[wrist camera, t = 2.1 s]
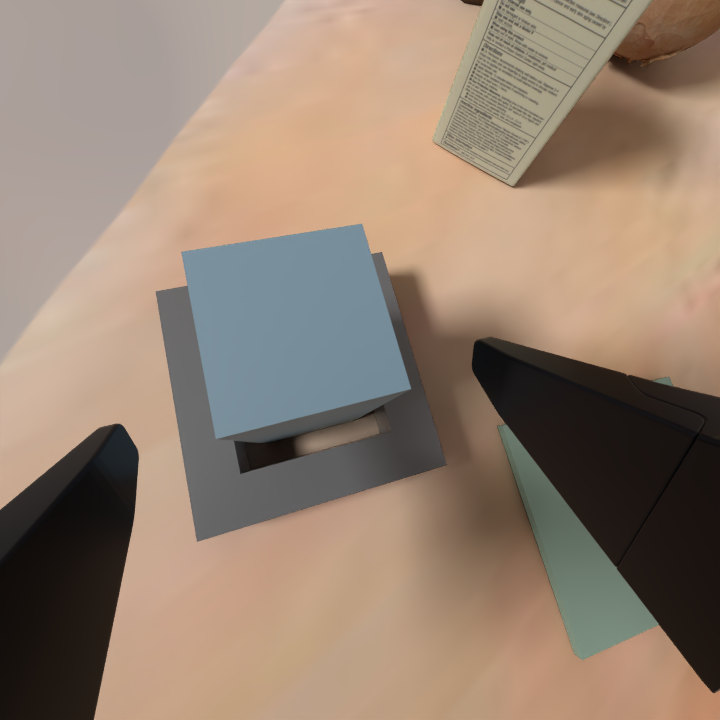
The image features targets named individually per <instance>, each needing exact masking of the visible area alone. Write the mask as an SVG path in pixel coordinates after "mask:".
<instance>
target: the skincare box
mask: <svg viewBox="0 0 720 720" xmlns="http://www.w3.org/2000/svg"><path fill="white" fill-rule="evenodd" d="M652 1H653V0H484V2H483V4H482V7H481V10H480V12H479V15H478V18H477V20H476V23H475V25H474V28H473V31H472V33H471V36H470V39H469V42H468V44H467V47H466V50H465V53H464V55H463V58H462V61H461V63H460V66H459V69H458V71H457V74H456V77H455V79H454V82H453V85H452V87H451V90H450V92H449V95H448V98H447V100H446V103H445V106H444V109H443V112H442V115H441V117H440V120H439V122H438V125H437V128H436V131H435V133H434V136H433V142H434V143H436V144H437V145H439V146H441V147H442V148H444V149H446V150H447V151H449V152H451V153H453V154H454V155H456V156H458V157H460V158H462V159H463V160H465V161H467V162H469V163H470V164H472V165H474V166H476V167H477V168H479V169H481V170H483V171H485V172H486V173H488V174H490V175H492V176H494V177H495V178H497V179H499V180H501V181H503V182H505V183H507V184H509V185H511V186H514V185H515V184H516V183H517V182H518V180H519V179H520V178H521V176H522V175H523V174H524V172H525V171H526V170H527V168H528V167H529V166H530V164H531V163H532V162H533V160H534V159H535V158H536V156H537V155H538V154H539V152H540V151H541V150H542V148H543V147H544V146H545V144H546V143H547V142H548V140H549V139H550V138H551V136H552V135H553V134H554V132H555V131H556V130H557V128H558V127H559V126H560V124H561V123H562V122H563V120H564V119H565V118H566V116H567V115H568V114H569V112H570V111H571V110H572V108H573V107H574V106H575V104H576V103H577V102H578V100H579V99H580V98H581V96H582V95H583V94H584V92H585V91H586V90H587V88H588V87H589V86H590V84H591V83H592V82H593V80H594V79H595V78H596V76H597V75H598V74H599V72H600V71H601V70H602V68H603V67H604V66H605V64H606V63H607V62H608V60H609V59H610V58H611V56H612V55H613V54H614V52H615V51H616V50H617V48H618V47H619V46H620V44H621V43H622V42H623V40H624V39H625V37H626V36H627V35H628V33H629V32H630V31H631V29H632V28H633V27H634V25H635V24H636V23H637V21H638V20H639V19H640V17H641V16H642V15H643V13H644V12H645V11H646V9H647V8H648V7H649V5H650V4H651V3H652Z"/></svg>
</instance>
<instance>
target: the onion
mask: <svg viewBox="0 0 720 720" xmlns="http://www.w3.org/2000/svg"><path fill="white" fill-rule="evenodd" d="M719 28H720V0H653V1H652V3H651V4H650V5H649V7H648V8H647V9H646V11H645V12H644V13H643V15H642V16H641V17H640V19H639V20H638V21H637V23H636V24H635V25H634V27H633V28H632V29H631V31H630V32H629V33H628V35H627V36H626V37H625V39H624V40H623V42H622V43H621V44H620V46H619V47H618V48H617V50H616V51H615V52H614V55H616V56H618V57H620V58H622V59H623V56H624V57H625V58H627V62H628V64H629V63H631V62H632V60H633V61H636V60H640V61H642V62H643V63H641V67H642V66H643V65H646V67H647V66H648V65H649V64H650V62H653V61H659V60H665V59H668V58H671V57H673V56H675V55H677V54H678V53H679V52H681V51H684V50H686V49H688V48H690V47H692V46H694V45H695V44H697V43H699V42H700V41H702V40H704V39H706V38H707V37H709V36H710V35H712V34H713V33H714V32H716V31H717V30H718V29H719Z"/></svg>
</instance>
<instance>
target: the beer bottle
mask: <svg viewBox="0 0 720 720" xmlns="http://www.w3.org/2000/svg"><path fill="white" fill-rule="evenodd" d="M462 1H463V2H464V3H470V4H477V5H482V4H483V2H484V0H462Z"/></svg>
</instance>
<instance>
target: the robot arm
mask: <svg viewBox="0 0 720 720" xmlns="http://www.w3.org/2000/svg"><path fill="white" fill-rule="evenodd" d="M472 370H473V372H474V374H475V376H476V378H477V379H478V381H479V383H480V384H481V386H482V388H483V389H484V391H485V393H486V394H487V396H488V398H489V399H490V401H491V403H492V404H493V406H494V407H495V409H496V411H497V412H498V414H499V415H500V417H501V418H502V419H503V421H504V422H505V423H506V425H507V426H508V427H509V429H510V430H511V431H512V433H513V434H514V435H515V436H516V438H517V439H518V440H519V442H520V443H521V444H522V446H523V447H524V448H525V450H526V451H527V452H528V453H529V455H530V456H531V457H532V459H533V460H534V461H535V463H536V464H537V465H538V467H539V468H540V469H541V470H542V472H543V473H544V474H545V476H546V477H547V478H548V480H549V481H550V482H551V484H552V485H553V486H554V487H555V489H556V490H557V491H558V493H559V494H560V495H561V497H562V498H563V499H564V501H565V502H566V503H567V504H568V506H569V507H570V508H571V510H572V511H573V512H574V514H575V515H576V516H577V518H578V519H579V520H580V521H581V523H582V524H583V525H584V527H585V528H586V529H587V531H588V532H589V533H590V535H591V536H592V537H593V538H594V540H595V541H596V542H597V544H598V545H599V546H600V548H601V549H602V550H603V552H604V553H605V554H606V555H607V557H608V558H609V559H610V561H611V562H612V563H613V565H614V566H615V567H617V570H618V572H619V573H620V574H621V575H622V577H623V578H624V579H625V581H626V582H627V583H628V585H629V586H630V587H631V589H632V590H633V591H634V592H635V594H636V595H637V596H638V598H639V599H640V600H641V602H642V603H643V604H644V606H645V607H646V608H647V609H648V611H649V612H650V613H651V615H652V616H653V617H654V619H655V620H656V621H657V623H658V624H659V625H660V626H661V628H662V629H663V630H664V632H665V633H666V634H667V636H668V637H669V638H670V640H671V641H672V642H673V643H674V645H675V646H676V647H677V649H678V650H679V651H680V653H681V654H682V655H683V657H684V658H685V659H686V660H687V662H688V663H689V664H690V666H691V667H692V668H693V670H694V671H695V672H696V674H697V675H698V676H699V677H700V679H701V680H702V681H703V682H704V684H705V685H706V686H707V687H708V688H709V689H710V690H711V692H713V693H716V692H718V691H720V397H716V396H712V395H707V394H703V393H699V392H694V391H690V390H686V389H682V388H678V387H673V386H669V385H666V384H662V383H658V382H654V381H650V380H646V379H643V378H639V377H636V376H632V375H628V376H627V375H626V374H624V373H621V372H617V371H613V370H610V369H606V368H603V367H599V366H595V365H592V364H588V363H584V362H581V361H577V360H573V359H570V358H566V357H562V356H559V355H555V354H552V353H548V352H544V351H541V350H537V349H533V348H530V347H526V346H522V345H519V344H515V343H511V342H508V341H504V340H501V339H497V338H493V337H486V338H482V339H478V340H476V341H475V343H474V349H473V358H472ZM138 461H139V454H138V450H137V448H136V446H135V444H134V443H133V441H132V439H131V438H130V436H129V434H128V433H127V431H126V429H125V428H124V427H123V426H122V425H121V424H112V425H108V426H104V427H100V428H98V429H97V430H96V431H95V432H93V433H92V434H91V435H90V436H88V437H87V438H86V439H85V440H84V441H82V442H81V443H80V444H79V445H78V446H76V447H75V448H74V449H73V450H72V451H70V452H69V453H68V454H67V455H66V456H64V457H63V458H62V459H61V460H60V461H58V462H57V463H56V464H55V465H54V466H52V467H51V468H50V469H49V470H48V471H46V472H45V473H44V474H43V475H42V476H40V477H39V478H38V479H37V480H36V481H34V482H33V483H32V484H31V485H30V486H28V487H27V488H26V489H25V490H24V491H22V492H21V493H20V494H19V495H18V496H16V497H15V498H14V499H13V500H12V501H10V502H9V503H8V504H7V505H6V506H4V507H3V508H2V509H1V510H0V720H94V716H95V711H96V706H97V701H98V696H99V691H100V686H101V681H102V676H103V671H104V666H105V662H106V657H107V652H108V647H109V642H110V637H111V632H112V627H113V622H114V617H115V612H116V607H117V602H118V597H119V592H120V587H121V582H122V577H123V572H124V567H125V562H126V557H127V552H128V547H129V542H130V537H131V532H132V527H133V521H134V514H135V503H136V489H137V475H138Z"/></svg>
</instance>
